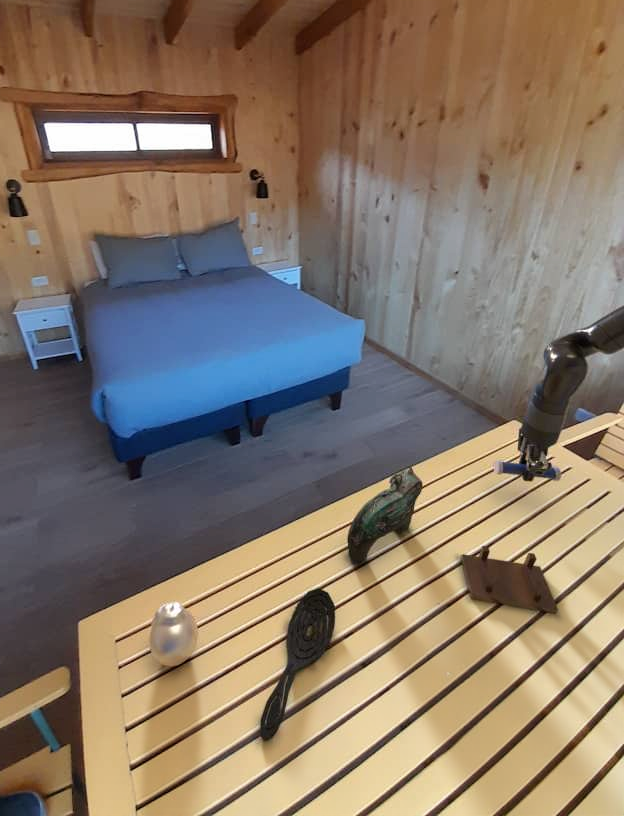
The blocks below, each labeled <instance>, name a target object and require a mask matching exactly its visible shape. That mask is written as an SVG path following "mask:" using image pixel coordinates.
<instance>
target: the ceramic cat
mask: <svg viewBox="0 0 624 816" xmlns="http://www.w3.org/2000/svg"><path fill="white" fill-rule="evenodd" d="M388 483H389V484H390V486H389V488H386V489H384V490H382V491H380V492H379V493H377V494H376V495H375V496H373V497H372V498H371V499H369V500H368V501H367V502H366V503H365V504H364V505H362V507H361V508H360V509H359V511H358V512H357V514H355V516H354V518H353V520H352V522H351V524H350V526H349V529H348V531H347V538H346V541H347V550H348V558H349V559H350V560H351V561H352V562H353V563H354V564H355V565H356V566H358V565H360V564H362V563H363V562H365V560H366V559H367V557H368V554H369V552H370V550H371V548H372V547H373V545H374V544H375V543H376V542H377V541H378V540H379V539H381V538H383V537H385V536H387V535H388V534H390V533H393V532H394V531H396V532H397V533H398V534H399V535H402V534H403V533H404V532H405V531H407V530H409V528H410V525H411V523H412V519H413V515H414V512H415V506H416V502H417V499H418V498H419V496H420V495H421V494H422V490H423V481H422V479H421V478H420V477H419V476H418V475H417V474H416V473H415V472H414V470H413V467H412V466H409V468H408V469H404V470H401V471H400V472H399V473H396V474H395V473H394V475H392V476H391V477H390V479H389V482H388Z"/></svg>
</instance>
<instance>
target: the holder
mask: <svg viewBox="0 0 624 816" xmlns="http://www.w3.org/2000/svg"><path fill="white" fill-rule="evenodd" d="M489 555H490V548H489V546H488V545H482V546H481V548H480V551H479V554H478V556H476V555H469V554H464V553H463V554H462V553H461V555H460V562H461V567H462V570H463V575H464V578H465V581H466V587H467V590H468V593H469V597H470V599H472V600H478V601H483V602H489V603H493V604H494V603H495V604H500V605H506V606H510V607H511V606H512V607H516V608H523V609H528V610H534V611H540V612H545V613H552V614H557V613H558V611H559V607H558V606H557V602H556V601H555V599H554V596H553V594H552V591H551V589H550V587H549V584H548V582H547V579H546V577H545V575H544V573H543V570H542V568H541V566H539V565H535V563H536V562H537V556H536V554H535V553H533V552H528V553H527V555H526V557H525V558H524V561H523V563H520V562H514V561H507V560H502V559H496V558H489Z"/></svg>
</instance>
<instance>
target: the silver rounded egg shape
mask: <svg viewBox="0 0 624 816" xmlns="http://www.w3.org/2000/svg"><path fill="white" fill-rule="evenodd" d="M198 636H199V628H198V622H197V619H196V618H195V616H194V615H193V613H192V612H191V611H190V610H188V609H186V608H185V607H184V605H183V604H182V603H181V602H179V601H171V602H168V603H164V604H162V605H161V606H160V607H158V609H157V610H156V612H155V613H154V617H153V618H152V620H151V623H150V631H149V636H148V641H149V642H148V644H149V650H150V653H151V655H152V657H153V658H154V659H155V661H157V662H158V663H159V664H160V665H163V666H165V667H176V666H179V665H181V664H182V663H184V662H185V661H187V660H188V659H189V658H190V656H191V655H192V654H193V652H194V650H195V648H196V647H197V643H198V639H199V637H198Z"/></svg>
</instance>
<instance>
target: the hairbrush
mask: <svg viewBox="0 0 624 816" xmlns="http://www.w3.org/2000/svg"><path fill="white" fill-rule="evenodd" d="M335 625H336V606H335V603H334V601H333V599H332V596H331V595H330V593H329V592H328V591H326V590H324V589H321V588H320V587H317V588H314V589H310V590H309V591H308V590H307V591H306V593H304V596H302V597H301V599H300V600H299V602H298V603H297V604H296V606H294V611H292V614H291V618H290V620H289V622H288V626H287V633H286V640H285V641H286V642H285V644H286V655H287V661H286V662H287V663H286V667H285V669H283V673H282V674H281V676H280V678H279V680H278V683H277V684H276V686H275V687H274V689H273V691H272V692H271V694H270V695H269V697H268V698H267V700H266V702H265V705H264V708H263V710H262V714H261V717H260V720H259V721H260V724H259V726H260V729H259V730H260V737H261V739H263V740H265V741H269V740H270V739H272V738H273V737H274V736H275V735H276V734H277V732H278V730H279V728H280V726H281V724H282V721H283V719H284V717H285V713H286V709H287V704H288V700H289V699H288V698H289V694H290V690H291V688H292V685H293V683H294V680H295V677H296V674H297V673H298V672H300V670H302V669H303V668H305V667H307V666H309V665H311V664H313V663H315V662H317V660H319V659H320V658H321V656H322V655H323V654H324V653H325V652H326V650H327V649H328V646H329V645H330V643H331V640H332V638H333V633H334V630H335ZM310 626H311V631H309V632H308V628H309V627H310ZM308 633H309V634H308Z"/></svg>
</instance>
